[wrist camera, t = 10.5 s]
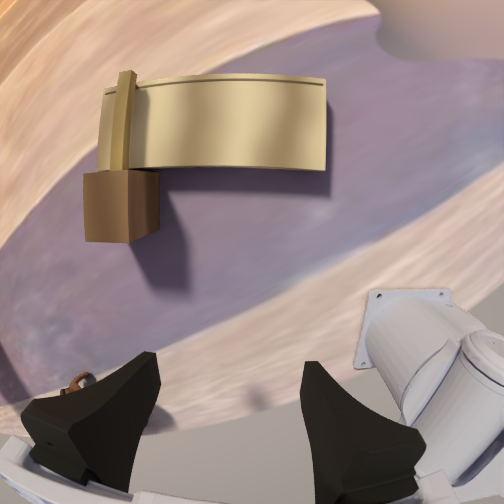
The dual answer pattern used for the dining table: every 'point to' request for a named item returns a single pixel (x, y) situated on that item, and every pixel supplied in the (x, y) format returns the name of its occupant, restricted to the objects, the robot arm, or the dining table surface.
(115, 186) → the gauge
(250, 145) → the board
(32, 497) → the robot arm
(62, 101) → the dining table surface
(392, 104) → the dining table surface
